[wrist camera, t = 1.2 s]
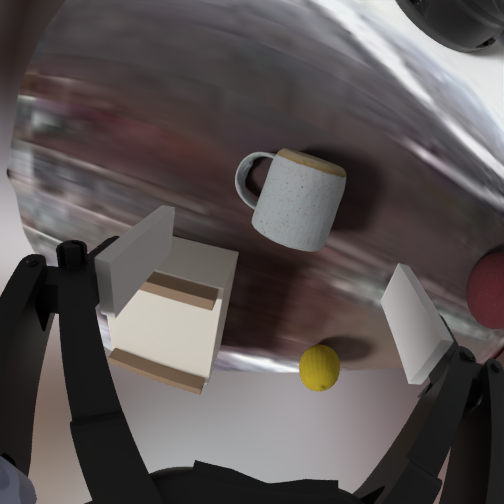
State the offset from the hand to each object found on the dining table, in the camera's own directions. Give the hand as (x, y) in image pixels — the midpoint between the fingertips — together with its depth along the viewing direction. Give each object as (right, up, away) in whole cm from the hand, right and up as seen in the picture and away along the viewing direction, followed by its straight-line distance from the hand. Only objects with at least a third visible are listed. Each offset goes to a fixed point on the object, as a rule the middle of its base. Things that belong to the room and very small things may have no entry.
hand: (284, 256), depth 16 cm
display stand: (-12, -5, +23) cm, 26 cm away
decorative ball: (+31, -3, +15) cm, 34 cm away
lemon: (+8, -13, +24) cm, 29 cm away
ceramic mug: (+2, +7, +15) cm, 17 cm away
